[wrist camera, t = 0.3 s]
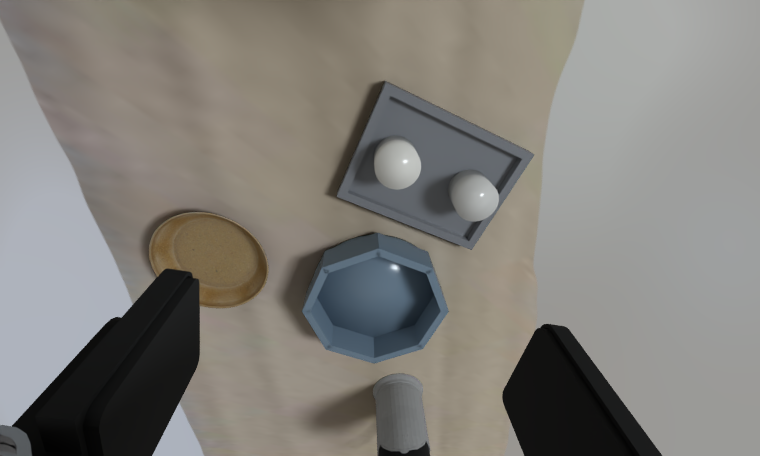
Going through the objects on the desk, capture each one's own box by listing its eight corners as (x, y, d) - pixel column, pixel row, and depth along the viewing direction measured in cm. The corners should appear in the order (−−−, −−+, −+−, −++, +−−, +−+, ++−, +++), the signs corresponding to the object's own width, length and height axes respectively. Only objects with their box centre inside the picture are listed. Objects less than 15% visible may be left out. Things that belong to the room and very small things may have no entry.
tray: (384, 80, 39) (385, 82, 37) (528, 150, 43) (534, 154, 42) (337, 191, 45) (336, 196, 43) (468, 243, 49) (471, 250, 47)
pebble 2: (460, 163, 43) (469, 174, 39) (495, 178, 44) (507, 191, 40) (440, 198, 45) (447, 212, 41) (474, 212, 46) (483, 227, 42)
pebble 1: (384, 128, 40) (386, 136, 37) (423, 146, 42) (429, 156, 38) (366, 167, 42) (367, 179, 39) (404, 183, 44) (408, 196, 40)
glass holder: (422, 371, 60) (439, 465, 47) (423, 424, 67) (438, 519, 54) (370, 375, 60) (372, 470, 47) (376, 428, 67) (380, 524, 54)
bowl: (339, 215, 46) (337, 233, 42) (460, 261, 50) (469, 281, 46) (295, 315, 53) (289, 339, 49) (403, 348, 58) (406, 372, 53)
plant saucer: (285, 289, 52) (281, 301, 49) (185, 303, 52) (176, 315, 50) (254, 195, 45) (248, 204, 42) (139, 212, 45) (127, 221, 43)
